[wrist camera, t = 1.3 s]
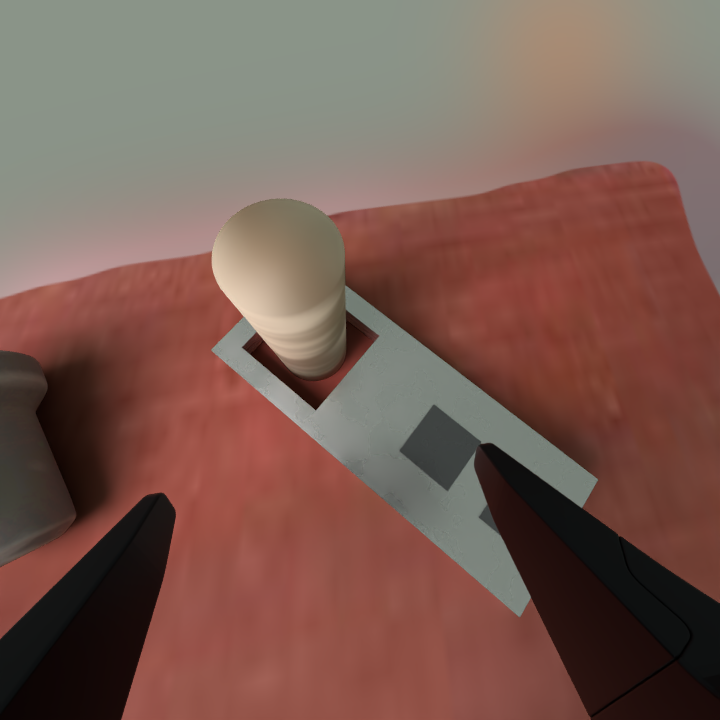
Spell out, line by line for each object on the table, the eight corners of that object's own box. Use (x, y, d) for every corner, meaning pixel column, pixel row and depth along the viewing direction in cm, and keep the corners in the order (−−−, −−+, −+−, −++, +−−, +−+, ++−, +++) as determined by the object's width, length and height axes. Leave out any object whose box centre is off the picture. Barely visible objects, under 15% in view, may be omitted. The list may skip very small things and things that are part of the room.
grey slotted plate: (503, 600, 21) (520, 618, 19) (222, 357, 24) (210, 349, 22) (576, 476, 23) (599, 479, 21) (308, 268, 26) (305, 254, 24)
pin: (317, 394, 24) (282, 342, 11) (268, 353, 24) (183, 260, 12) (359, 345, 25) (371, 247, 12) (311, 307, 25) (275, 177, 13)
